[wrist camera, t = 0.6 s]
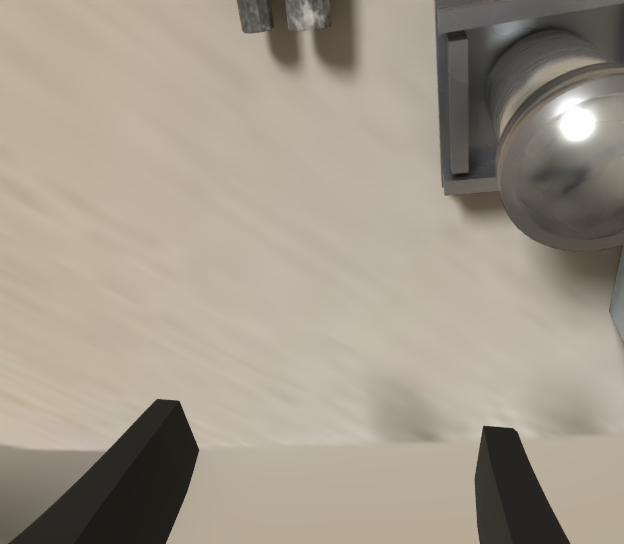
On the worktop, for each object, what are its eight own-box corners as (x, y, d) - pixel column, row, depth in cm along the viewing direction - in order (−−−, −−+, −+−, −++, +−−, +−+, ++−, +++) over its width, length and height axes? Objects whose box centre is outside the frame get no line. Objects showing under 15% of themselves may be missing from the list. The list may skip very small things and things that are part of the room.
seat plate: (668, -53, 13) (704, -48, 11) (627, 160, 16) (649, 187, 14) (434, -9, 14) (435, 1, 13) (441, 177, 18) (443, 203, 16)
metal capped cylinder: (623, 6, 13) (741, 60, 8) (602, 141, 15) (685, 245, 10) (475, 30, 14) (503, 91, 9) (475, 154, 16) (497, 255, 11)
